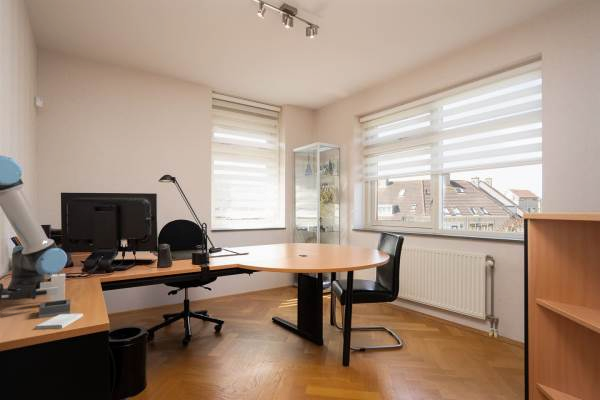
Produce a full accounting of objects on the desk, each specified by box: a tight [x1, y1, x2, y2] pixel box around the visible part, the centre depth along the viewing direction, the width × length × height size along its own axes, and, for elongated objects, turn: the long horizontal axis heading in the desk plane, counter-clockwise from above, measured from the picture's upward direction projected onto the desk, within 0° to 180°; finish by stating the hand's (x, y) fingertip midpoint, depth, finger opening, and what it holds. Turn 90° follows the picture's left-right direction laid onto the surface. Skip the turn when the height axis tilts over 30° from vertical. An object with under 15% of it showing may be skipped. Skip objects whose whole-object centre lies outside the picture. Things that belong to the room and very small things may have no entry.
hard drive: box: [34, 313, 84, 330], centre depth 108 cm, size 2×8×12 cm
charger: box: [49, 273, 66, 301], centre depth 130 cm, size 4×4×12 cm
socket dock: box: [38, 298, 72, 319], centre depth 118 cm, size 9×9×4 cm
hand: (58, 287), depth 129 cm, fingers open, 13 cm apart
